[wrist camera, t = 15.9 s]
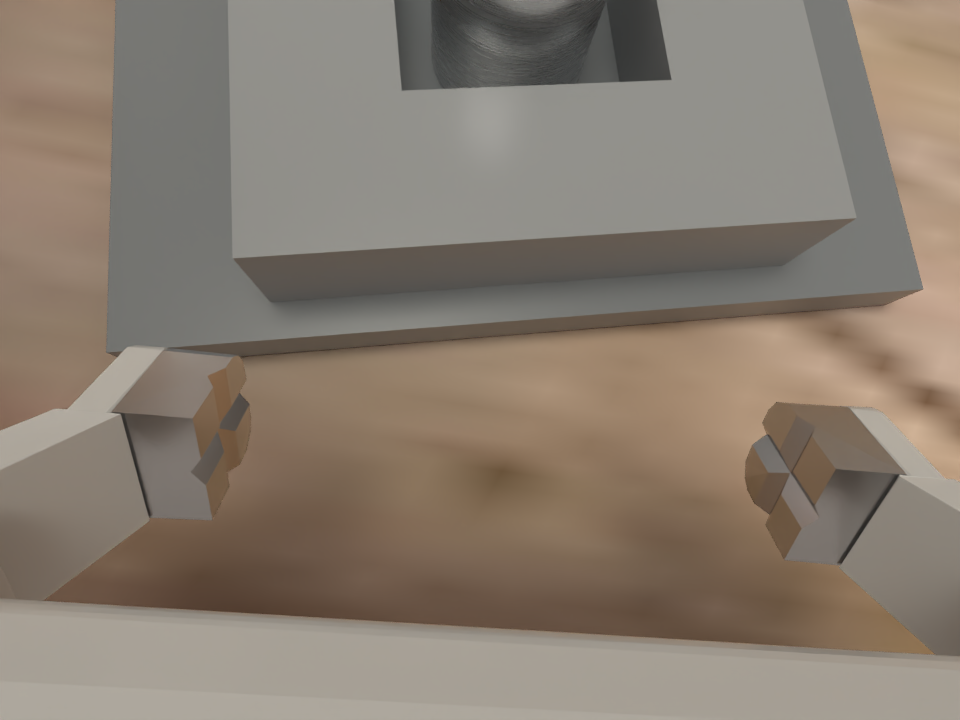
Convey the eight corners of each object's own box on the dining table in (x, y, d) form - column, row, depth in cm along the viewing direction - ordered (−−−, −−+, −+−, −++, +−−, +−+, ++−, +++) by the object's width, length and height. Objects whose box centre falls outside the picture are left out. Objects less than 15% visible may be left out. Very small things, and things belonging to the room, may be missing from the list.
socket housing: (135, 364, 16) (26, 318, 12) (143, -114, 20) (59, -288, 15) (884, 305, 18) (1025, 247, 14) (779, -118, 22) (867, -272, 17)
